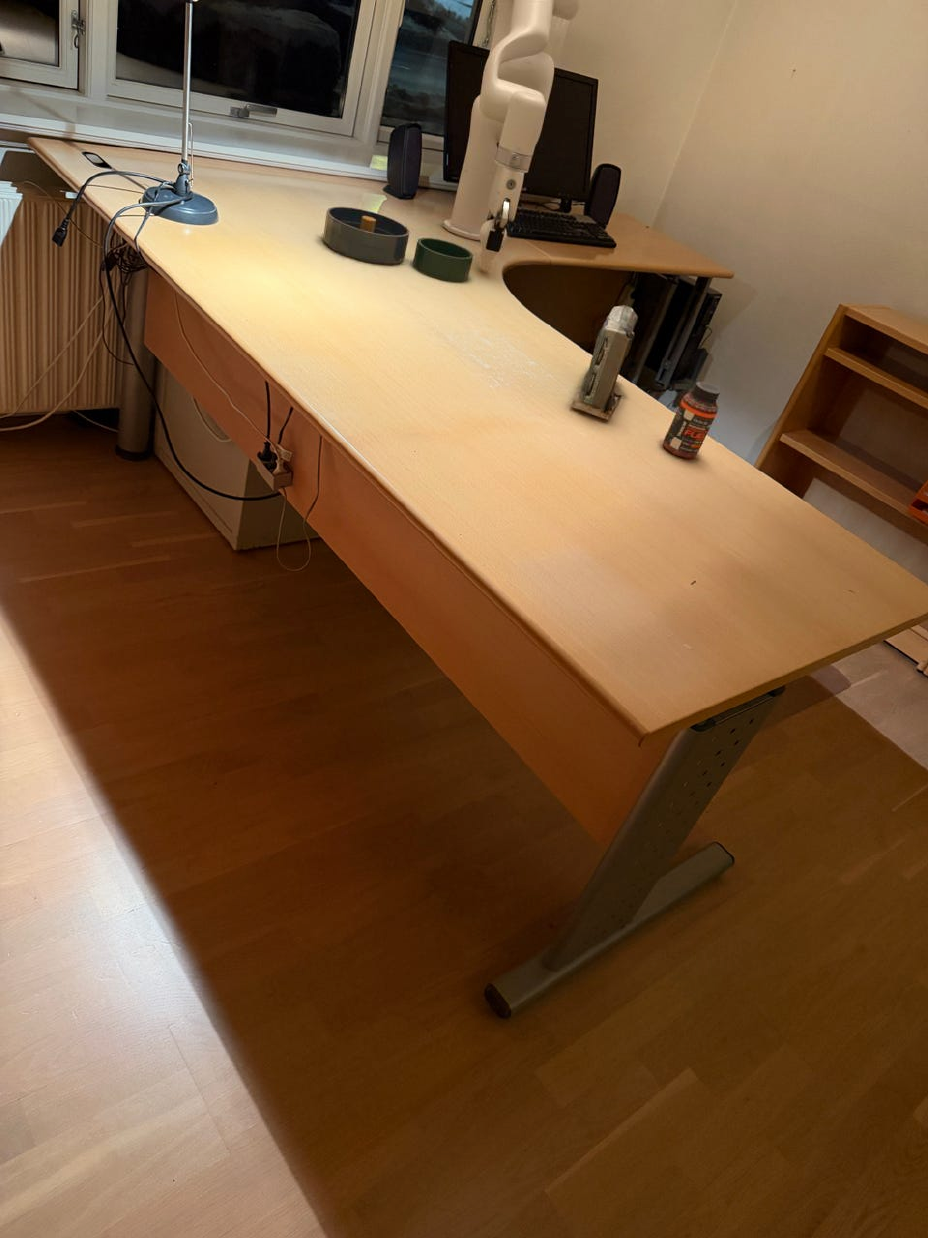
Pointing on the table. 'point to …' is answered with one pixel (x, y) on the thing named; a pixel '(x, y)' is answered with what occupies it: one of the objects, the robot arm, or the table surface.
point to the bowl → (365, 236)
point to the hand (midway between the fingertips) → (490, 244)
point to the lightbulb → (486, 255)
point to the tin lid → (368, 224)
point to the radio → (607, 364)
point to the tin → (442, 260)
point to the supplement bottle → (692, 421)
